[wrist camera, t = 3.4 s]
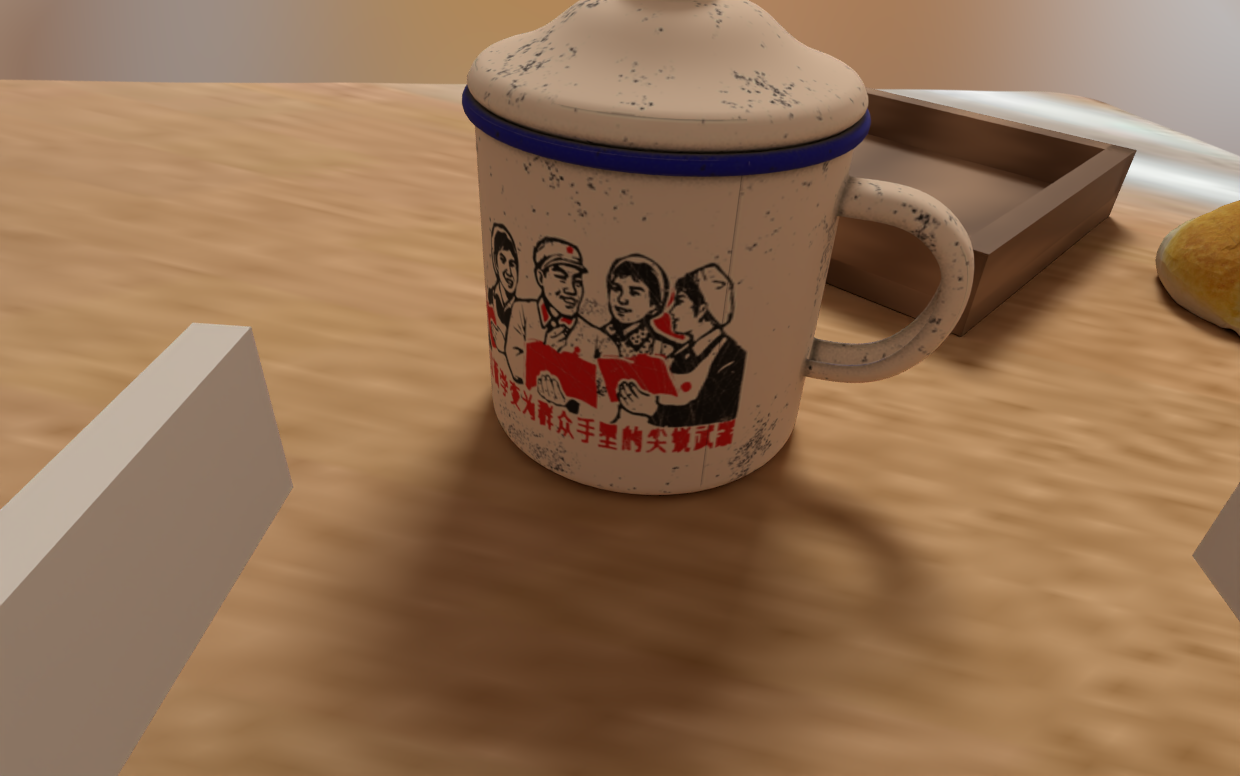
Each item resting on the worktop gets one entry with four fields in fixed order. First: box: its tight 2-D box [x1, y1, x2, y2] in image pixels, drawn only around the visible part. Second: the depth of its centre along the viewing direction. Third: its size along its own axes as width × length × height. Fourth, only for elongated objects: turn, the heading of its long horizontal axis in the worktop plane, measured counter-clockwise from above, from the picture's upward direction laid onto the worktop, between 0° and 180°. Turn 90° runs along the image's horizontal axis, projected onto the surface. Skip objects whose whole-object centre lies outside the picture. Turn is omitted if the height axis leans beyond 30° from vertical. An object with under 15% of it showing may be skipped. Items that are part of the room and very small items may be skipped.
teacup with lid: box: [462, 0, 974, 495], centre depth 19 cm, size 12×9×12 cm
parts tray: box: [826, 87, 1137, 336], centre depth 36 cm, size 21×16×3 cm
